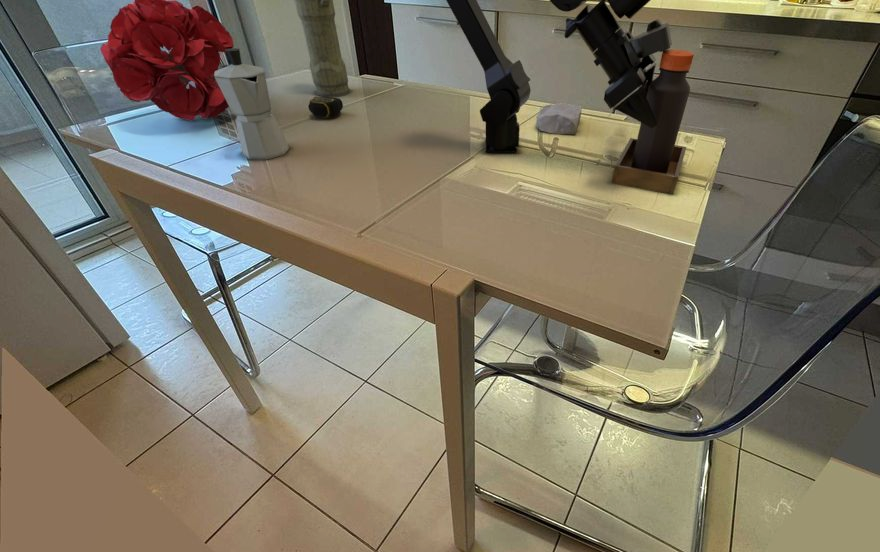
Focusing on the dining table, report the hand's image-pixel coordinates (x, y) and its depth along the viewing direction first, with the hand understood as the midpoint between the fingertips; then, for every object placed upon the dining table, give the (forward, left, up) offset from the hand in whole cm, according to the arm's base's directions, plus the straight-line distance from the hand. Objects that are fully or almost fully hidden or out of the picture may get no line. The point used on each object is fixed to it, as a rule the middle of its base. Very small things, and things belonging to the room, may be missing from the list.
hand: (657, 118), depth 79 cm
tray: (+1, 0, -10) cm, 10 cm away
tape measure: (-68, +32, -10) cm, 76 cm away
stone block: (-13, +26, -10) cm, 31 cm away
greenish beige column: (-71, +51, -10) cm, 88 cm away
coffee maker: (-75, +10, -10) cm, 77 cm away
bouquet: (-96, +31, -10) cm, 101 cm away
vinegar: (+1, 0, -10) cm, 10 cm away
